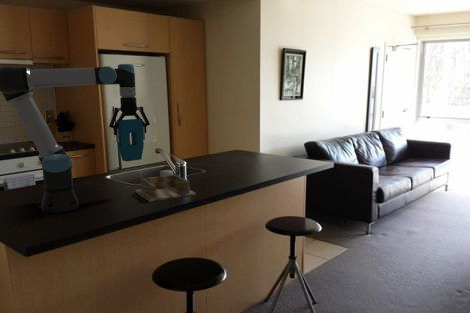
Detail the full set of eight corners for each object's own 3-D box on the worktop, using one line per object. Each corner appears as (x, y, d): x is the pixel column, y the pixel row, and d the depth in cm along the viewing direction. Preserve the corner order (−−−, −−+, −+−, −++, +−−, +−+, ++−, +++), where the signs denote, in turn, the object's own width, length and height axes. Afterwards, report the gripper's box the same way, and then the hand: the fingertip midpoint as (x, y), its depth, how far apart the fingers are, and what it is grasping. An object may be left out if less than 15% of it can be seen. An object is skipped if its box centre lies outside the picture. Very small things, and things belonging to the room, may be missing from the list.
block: (123, 162, 193) (120, 120, 190) (118, 160, 197) (115, 120, 194) (145, 158, 201) (143, 119, 198) (140, 157, 205) (137, 118, 202)
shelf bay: (149, 201, 186) (148, 187, 185) (135, 192, 205) (134, 178, 204) (196, 194, 198) (195, 181, 197) (178, 186, 217) (178, 173, 216)
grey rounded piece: (163, 187, 214) (162, 173, 213) (158, 185, 220) (158, 170, 219) (175, 186, 218) (174, 171, 216) (170, 183, 224) (170, 169, 222)
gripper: (104, 97, 185) (107, 143, 188) (154, 96, 197) (157, 139, 201) (100, 97, 191) (103, 142, 194) (149, 96, 203) (151, 138, 207)
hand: (130, 140), depth 198 cm, fingers closed on block, 12 cm apart
